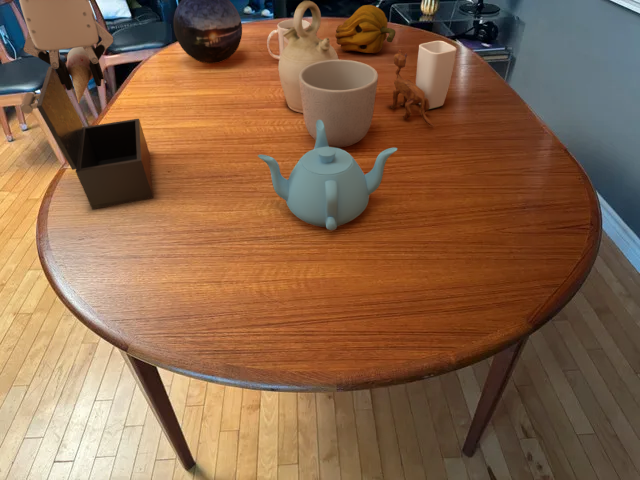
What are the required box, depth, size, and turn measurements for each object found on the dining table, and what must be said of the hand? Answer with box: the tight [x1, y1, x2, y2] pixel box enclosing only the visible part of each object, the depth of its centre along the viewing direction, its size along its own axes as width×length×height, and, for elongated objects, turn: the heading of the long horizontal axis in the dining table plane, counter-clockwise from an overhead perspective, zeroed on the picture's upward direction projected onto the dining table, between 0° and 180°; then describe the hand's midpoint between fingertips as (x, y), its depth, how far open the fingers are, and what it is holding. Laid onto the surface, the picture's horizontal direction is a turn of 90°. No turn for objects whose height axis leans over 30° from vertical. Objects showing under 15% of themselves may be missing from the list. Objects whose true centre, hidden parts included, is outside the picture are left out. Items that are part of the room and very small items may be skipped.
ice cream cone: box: [65, 47, 94, 104], centre depth 82 cm, size 5×5×15 cm
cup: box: [415, 40, 457, 110], centre depth 116 cm, size 7×7×15 cm
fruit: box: [334, 4, 396, 54], centre depth 146 cm, size 14×16×20 cm
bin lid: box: [20, 65, 83, 171], centre depth 86 cm, size 13×18×5 cm
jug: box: [277, 0, 340, 114], centre depth 115 cm, size 15×16×25 cm
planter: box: [299, 59, 379, 148], centre depth 105 cm, size 17×17×15 cm
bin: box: [75, 118, 154, 210], centre depth 95 cm, size 12×18×9 cm, turn 18°
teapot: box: [257, 120, 398, 231], centre depth 86 cm, size 17×19×12 cm
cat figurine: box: [389, 48, 436, 128], centre depth 112 cm, size 18×7×14 cm, turn 27°
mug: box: [266, 18, 311, 60], centre depth 141 cm, size 10×12×11 cm
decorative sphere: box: [173, 0, 243, 64], centre depth 140 cm, size 20×20×20 cm
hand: (84, 84), depth 84 cm, fingers closed on ice cream cone, 4 cm apart
